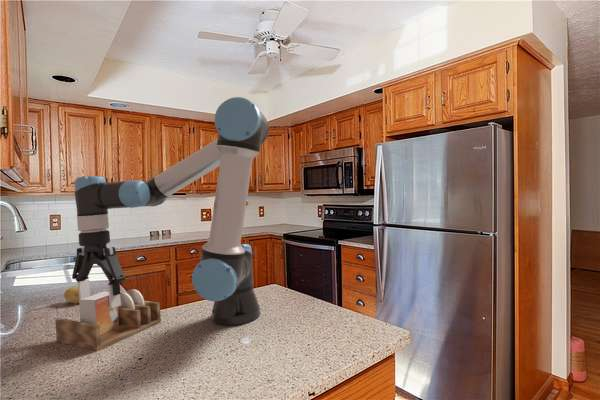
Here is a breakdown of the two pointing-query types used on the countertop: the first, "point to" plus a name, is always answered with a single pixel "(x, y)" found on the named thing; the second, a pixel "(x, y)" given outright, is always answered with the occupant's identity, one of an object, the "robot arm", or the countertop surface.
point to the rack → (131, 321)
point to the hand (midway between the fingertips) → (99, 304)
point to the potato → (72, 295)
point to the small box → (99, 312)
